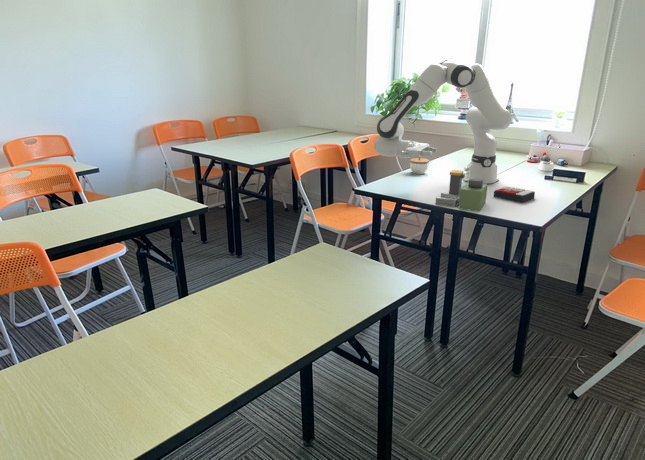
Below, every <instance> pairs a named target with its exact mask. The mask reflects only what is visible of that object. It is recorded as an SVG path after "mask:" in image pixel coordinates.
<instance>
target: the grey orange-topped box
mask: <svg viewBox="0 0 645 460" xmlns="http://www.w3.org/2000/svg"><path fill="white" fill-rule="evenodd" d="M465 173H466V172H465V171H464V170H458V169H457V170H456V169H452V170H451V171H450V172H449V175H450V176H449V189H448V194H455V195H460V189H461V188H462V184H463V183H462V182H463V178H464V177H465Z"/></svg>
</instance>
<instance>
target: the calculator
mask: <svg viewBox="0 0 645 460" xmlns="http://www.w3.org/2000/svg"><path fill="white" fill-rule="evenodd" d="M535 194H536V192H535V191H534V190H529V189H524V188H519V187H518V188H517V187H512V186H504V187H501V188H498V189H495V190H494V191H493V197H494V198H498V199H503V200H507V201H513V202H517V203H519V204H524V203H527V202H530V201H531V200H534V199H535Z"/></svg>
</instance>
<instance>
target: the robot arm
mask: <svg viewBox="0 0 645 460" xmlns="http://www.w3.org/2000/svg"><path fill="white" fill-rule="evenodd" d="M446 83H447V84H449V85H452V86H453V87H456V88H459V89H460V88H465V90H466V93H467V96H468V98H469V101H470V104H471V105H472V106H471V107H470V108H469V109H468V110H467V111H466V114H465V120H466V122H467V124H468V125H469V126H470V128H471V130H472V133H473V139H474V141H473V142H474V143H473V154H472V156H471V161H470V162H469V163H468V164H467V165H466V166H465V167H464V170H463V171H464V173H465V177H464V178H462V180H463V182H469V179H481V180H483V184H487V185H488V184H494V183H496V182H499V181H500V178H498V165H497V164H496V160H497V155H496V150H497V139H496V138H495V136H494V135H493V134H492V131H491V130H493V131H496V130H497V131H499V130H506V129H508V128H509V126H511V123H512V122H513V121H512V119H513V117H512V113H511V111H510V110H508V109H506V108H505V107H504V106H503V105H502V104H501V103H500V102H499V101H498V98H496V96H495V95H494V92H493V90H492V88H491V84H490V82H489V78H488V75H487V73H486V71H485V70H484V67H483V66H482V65H481V64H480V63H471V64H469V65H468V64H466V63H465V62H462V61H460V60H456V59H454V58H446V59H444V60H442V61H441V62H439V63H437V62H435V63H431V64H430V65H429V66H428V67H426V69H424V71H423V72H421V74H420V75H419V76H418V78H417V79H416V81H415V82H414V83H413V85H412V86H411V87H410V88H409V90H408V91H407V92H406V93H405V94H404V95H403V96H402V98H401V99H400V100H399V101H398V102H397V103H396V105H395V106H394V107H393V108H392V109H391V111H390V112H389V113H388V114H385V116H383V117H381V118H380V120H378V122H377V126H376V132H377V134H378V135H379V136H378V138H376V139H375V141H374V150H375V152H376V153H377V154H378V155H379V156H383V157H391V158H393V157H395V158H399V159H411V158H412V159H413V158H419V157H420V158H422V156H423V157H426V156H429V157H430V156H432V154H433V153H437V152H438V149H437V148H436V147H432V146H431V145H430V144H429V143H425V142H419V141H415V140H408V139H403V137H404V133H405V126H404V125H403V123H401V121H402V120H403V119H404V117H405V116H406V115H407V114H408V112H409V111H410V110H412V108H414V107H415V106H419V105H424V104H427V103H428V102H429V101H430V100H431V99H432V98H433V97H434V96H435V94H436V93H437V92H438V91H439V89H440V87H441V86H442V85H444V84H446Z"/></svg>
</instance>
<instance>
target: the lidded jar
mask: <svg viewBox="0 0 645 460" xmlns="http://www.w3.org/2000/svg"><path fill="white" fill-rule="evenodd" d="M409 159H410V160H409V167H410V171H411V172H412V173H413V174H415V175H423V174H425V173H426V172H427V171H428V167H429V163H430V160H429V159H428V158H424V157H423V158H422V157H419V158H413V157H412V158H409Z"/></svg>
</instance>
